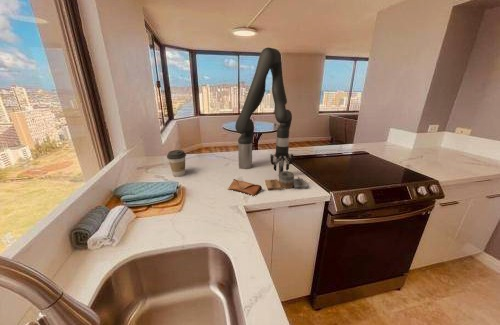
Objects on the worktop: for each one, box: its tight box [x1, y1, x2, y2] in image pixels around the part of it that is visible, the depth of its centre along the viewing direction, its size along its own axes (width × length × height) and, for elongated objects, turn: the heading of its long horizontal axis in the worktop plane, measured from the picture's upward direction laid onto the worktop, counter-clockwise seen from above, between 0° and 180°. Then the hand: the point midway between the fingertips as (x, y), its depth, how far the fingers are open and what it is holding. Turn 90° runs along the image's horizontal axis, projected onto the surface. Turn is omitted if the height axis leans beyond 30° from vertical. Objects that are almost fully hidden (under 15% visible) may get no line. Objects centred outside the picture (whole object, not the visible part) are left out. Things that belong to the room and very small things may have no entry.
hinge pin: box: [277, 158, 285, 177], centre depth 130 cm, size 3×3×12 cm
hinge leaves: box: [264, 170, 309, 191], centre depth 119 cm, size 22×10×7 cm, turn 95°
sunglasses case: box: [227, 178, 263, 197], centre depth 115 cm, size 18×7×7 cm, turn 63°
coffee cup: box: [166, 149, 187, 178], centre depth 132 cm, size 11×11×15 cm
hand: (281, 170), depth 131 cm, fingers open, 6 cm apart
